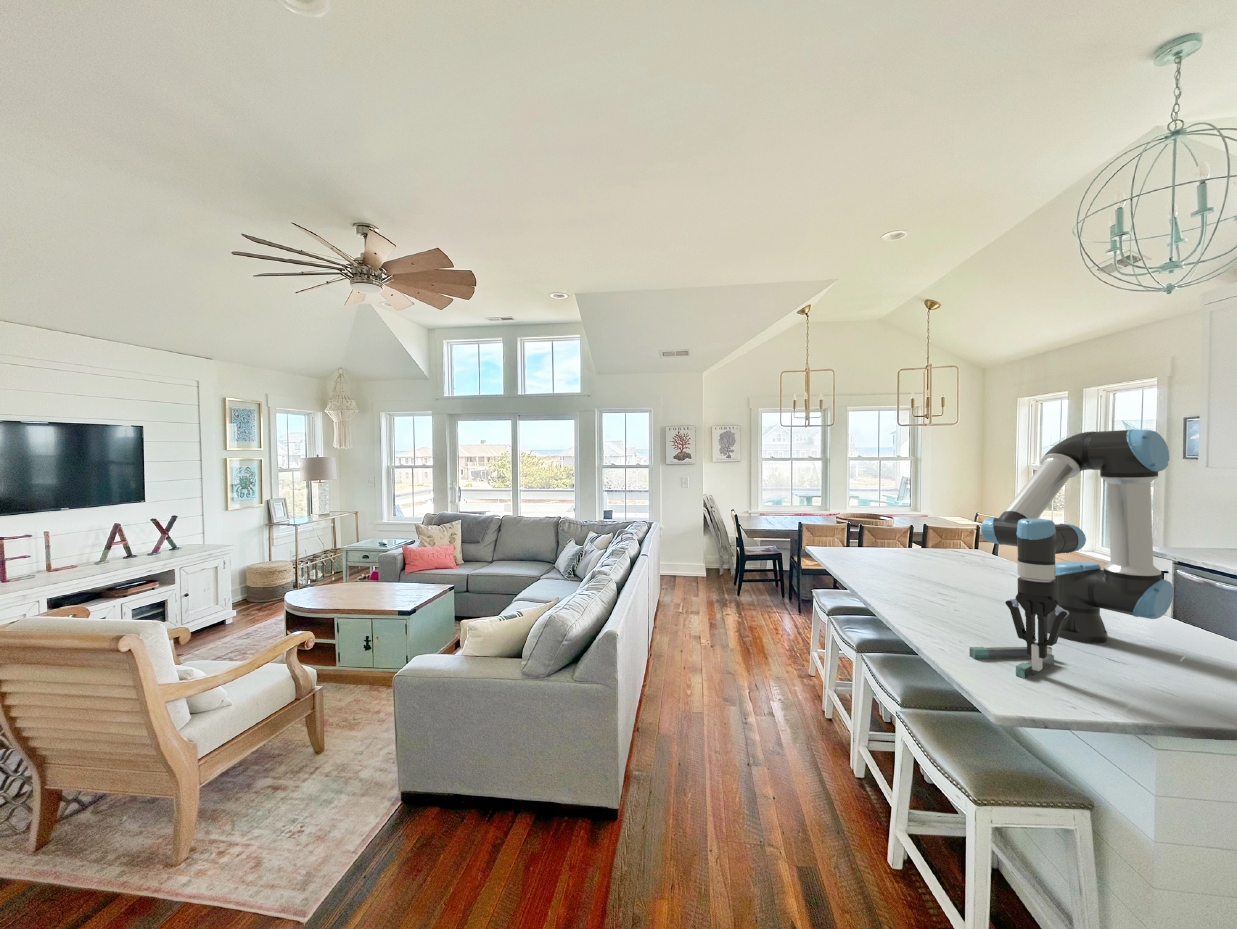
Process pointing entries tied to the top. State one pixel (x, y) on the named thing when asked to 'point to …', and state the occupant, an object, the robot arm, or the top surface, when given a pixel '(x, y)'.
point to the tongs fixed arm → (1001, 652)
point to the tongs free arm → (1026, 668)
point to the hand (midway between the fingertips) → (1037, 668)
